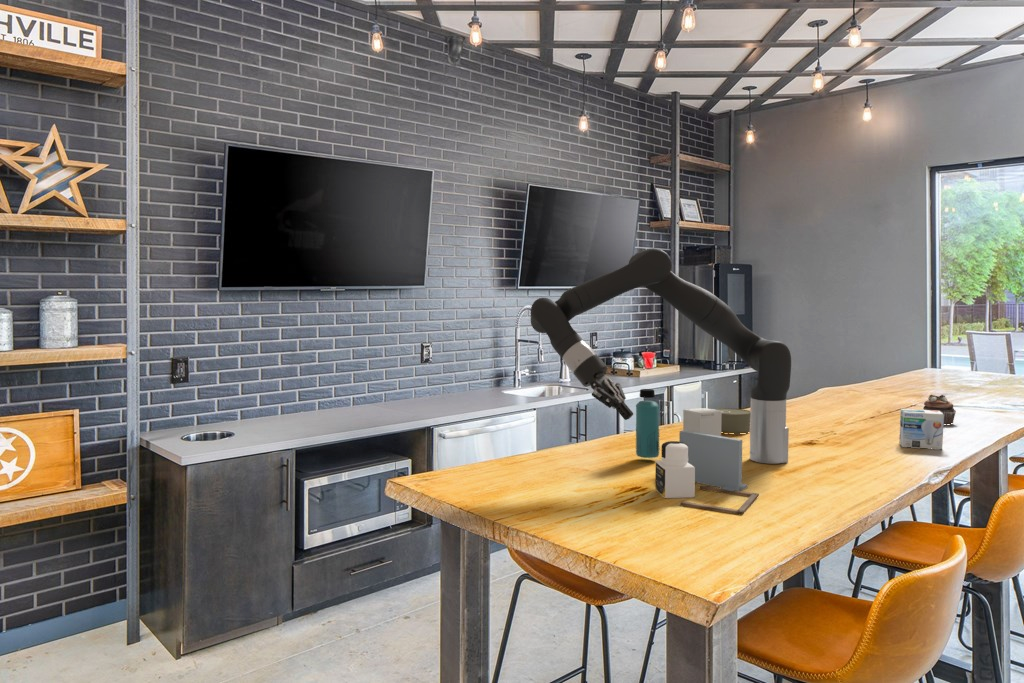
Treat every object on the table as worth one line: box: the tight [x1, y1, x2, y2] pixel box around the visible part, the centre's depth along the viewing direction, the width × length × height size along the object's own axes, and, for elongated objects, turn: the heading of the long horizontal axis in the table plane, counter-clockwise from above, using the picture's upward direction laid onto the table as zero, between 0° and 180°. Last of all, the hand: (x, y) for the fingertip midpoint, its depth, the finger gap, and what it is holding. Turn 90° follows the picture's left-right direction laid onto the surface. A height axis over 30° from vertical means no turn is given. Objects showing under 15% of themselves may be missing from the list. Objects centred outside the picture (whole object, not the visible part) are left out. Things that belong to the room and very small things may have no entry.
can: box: [715, 408, 750, 434], centre depth 229 cm, size 12×12×7 cm
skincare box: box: [682, 407, 722, 436], centre depth 181 cm, size 8×7×16 cm
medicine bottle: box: [654, 440, 696, 499], centre depth 157 cm, size 7×7×12 cm
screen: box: [678, 429, 748, 491], centre depth 165 cm, size 16×7×12 cm, turn 43°
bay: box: [679, 485, 760, 516], centre depth 152 cm, size 13×15×1 cm
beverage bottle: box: [635, 388, 661, 459], centre depth 189 cm, size 6×7×20 cm
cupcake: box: [922, 394, 957, 424], centre depth 240 cm, size 10×10×10 cm
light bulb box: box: [898, 408, 944, 450], centre depth 204 cm, size 11×7×11 cm, turn 68°
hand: (629, 417), depth 164 cm, fingers closed
